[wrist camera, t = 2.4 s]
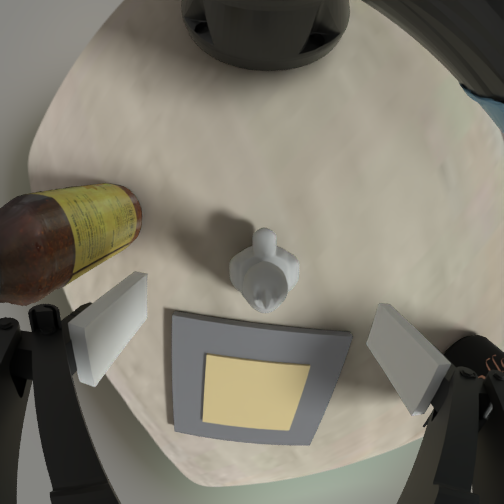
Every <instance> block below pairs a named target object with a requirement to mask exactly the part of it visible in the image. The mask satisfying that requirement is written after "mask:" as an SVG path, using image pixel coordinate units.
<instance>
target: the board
mask: <svg viewBox="0 0 504 504" xmlns="http://www.w3.org/2000/svg"><path fill="white" fill-rule="evenodd" d="M352 338H353V336H352V334H351V333H350V332H345V331H331V330H318V329H307V328H296V327H287V326H277V325H268V324H260V323H252V322H244V321H237V320H230V319H223V318H216V317H210V316H203V315H197V314H191V313H185V312H180V311H175V312H174V313H173V315H172V390H173V413H174V430H175V432H180V433H185V434H190V435H195V436H201V437H207V438H213V439H220V440H227V441H236V442H245V443H256V444H271V445H310V444H311V442H312V439H313V437H314V435H315V433H316V431H317V429H318V426H319V424H320V422H321V420H322V417H323V415H324V413H325V410H326V408H327V406H328V403H329V401H330V398H331V396H332V393H333V391H334V388H335V386H336V383H337V381H338V378H339V375H340V373H341V370H342V367H343V364H344V362H345V359H346V356H347V353H348V350H349V347H350V344H351V341H352Z"/></svg>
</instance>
